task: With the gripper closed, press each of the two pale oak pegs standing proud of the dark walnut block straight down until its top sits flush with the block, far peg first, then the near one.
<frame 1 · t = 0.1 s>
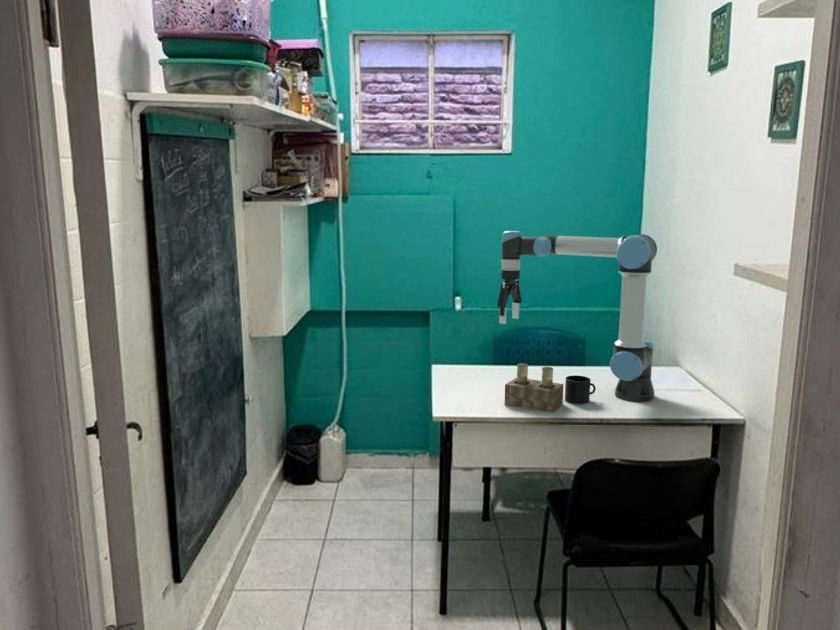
hand: (509, 321, 285), 28 cm above the table, fingers open, 13 cm apart
peg a: (522, 374, 267), point 11 cm above the table, slide at 7.0 cm
walnut block: (533, 404, 266), on the table
peg b: (547, 378, 262), point 11 cm above the table, slide at 7.0 cm
mug: (580, 401, 271), on the table
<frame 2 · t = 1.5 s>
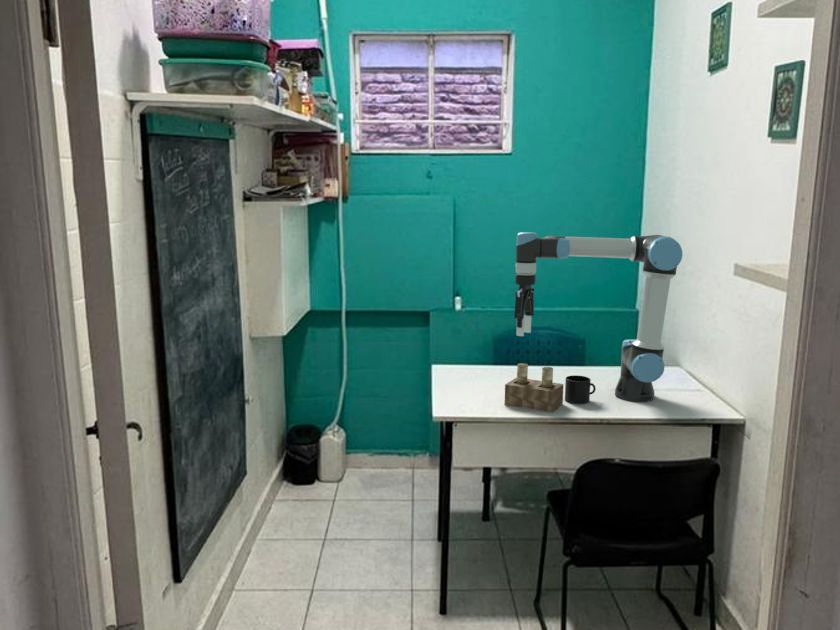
hand: (523, 334, 264), 27 cm above the table, fingers open, 7 cm apart
nothing on the table moved.
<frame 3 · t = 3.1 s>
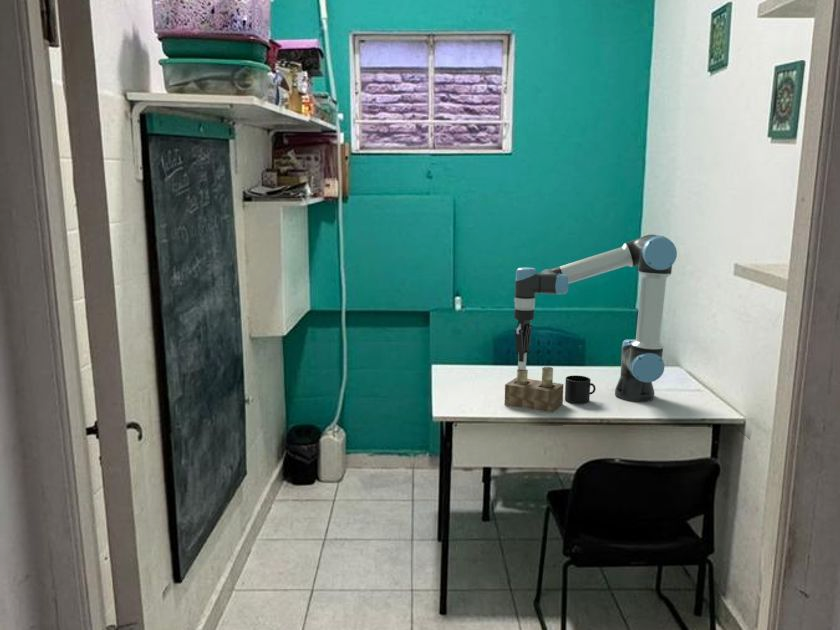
hand: (521, 369, 266), 13 cm above the table, fingers closed
peg a: (522, 380, 267), point 9 cm above the table, slide at 4.9 cm, touching gripper
everything else where it was.
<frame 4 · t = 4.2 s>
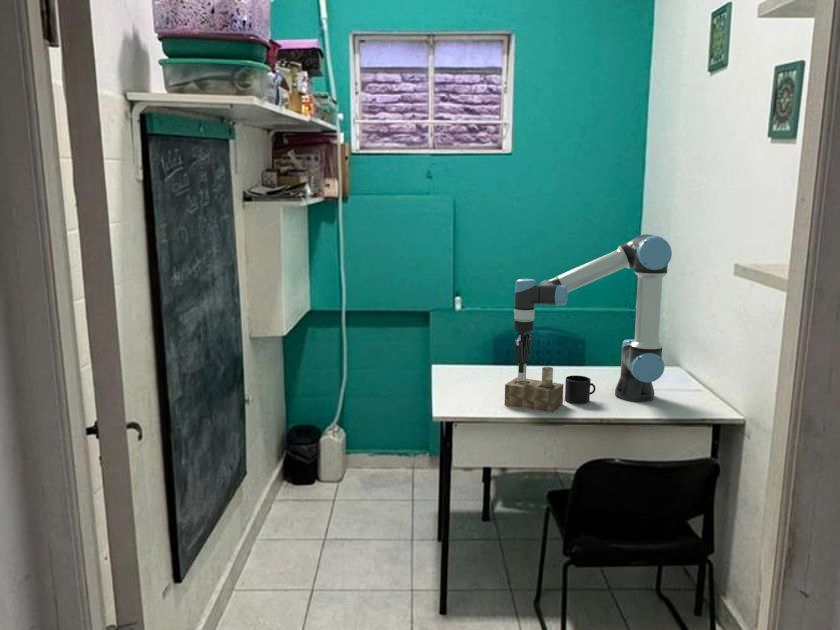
hand: (521, 380, 267), 9 cm above the table, fingers closed
peg a: (521, 390, 268), point 5 cm above the table, slide at 0.6 cm, touching gripper
everything else where it was.
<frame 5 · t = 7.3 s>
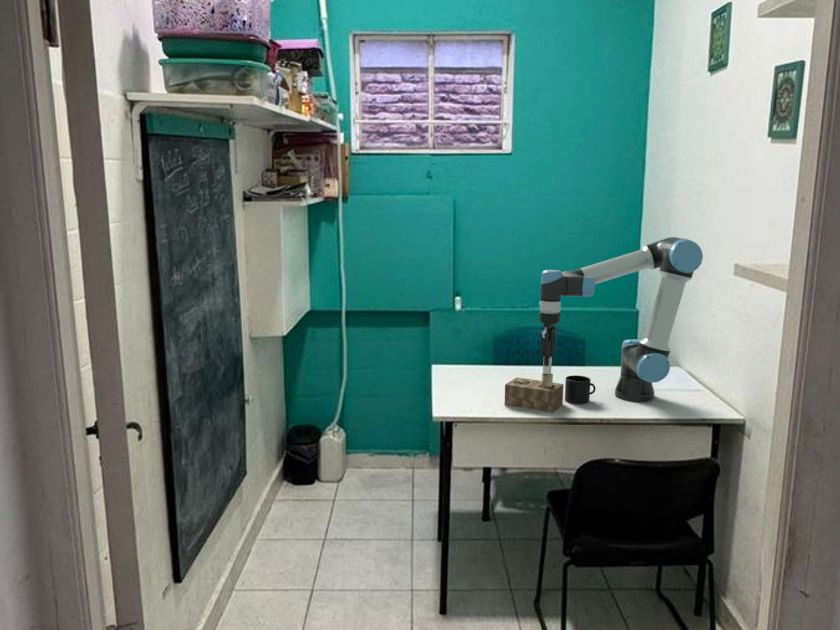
hand: (546, 373, 261), 13 cm above the table, fingers closed
peg a: (521, 391, 268), point 5 cm above the table, slide at 0.6 cm
peg b: (547, 384, 262), point 9 cm above the table, slide at 4.6 cm, touching gripper
everything else where it was.
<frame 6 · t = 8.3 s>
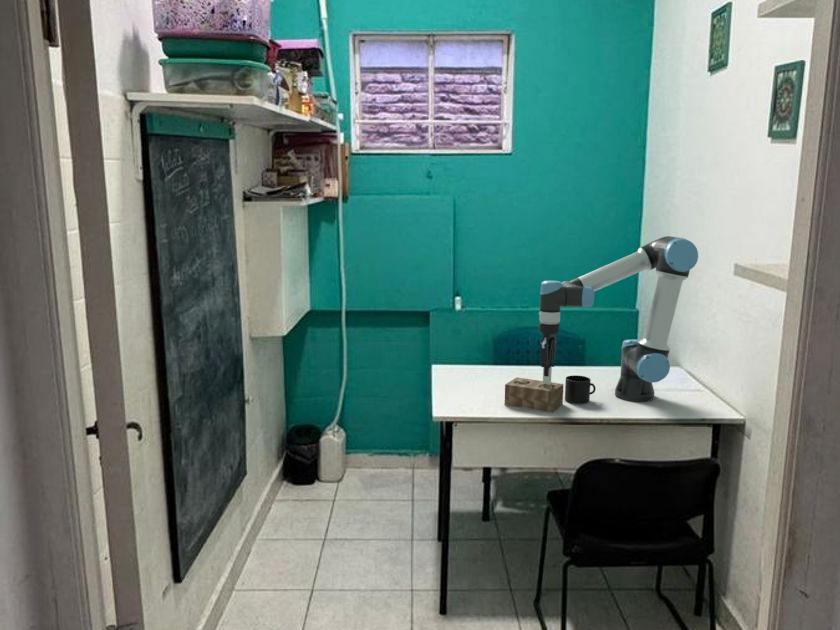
hand: (546, 383, 262), 9 cm above the table, fingers closed
peg b: (546, 394, 263), point 5 cm above the table, slide at 0.6 cm, touching gripper
everything else where it was.
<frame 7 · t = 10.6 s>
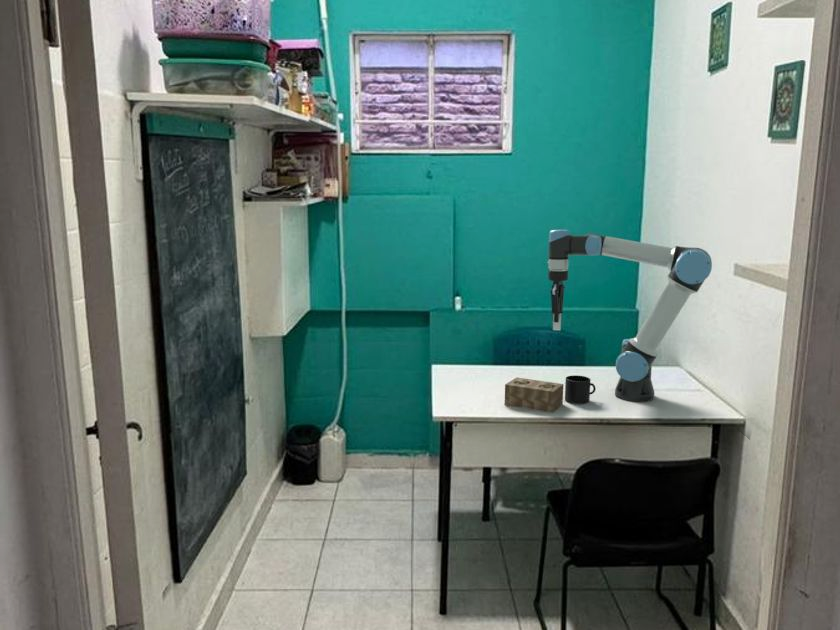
hand: (556, 329, 272), 27 cm above the table, fingers closed
peg b: (546, 394, 263), point 5 cm above the table, slide at 0.6 cm
everything else where it was.
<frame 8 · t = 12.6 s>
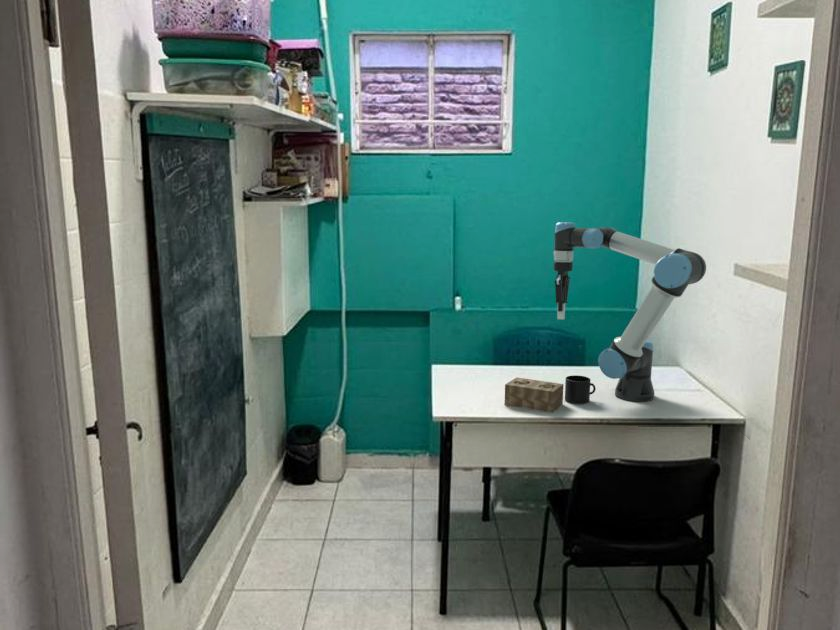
hand: (560, 318, 283), 29 cm above the table, fingers closed
nothing on the table moved.
at the end: peg a slide at 0.6 cm; peg b slide at 0.6 cm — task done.
